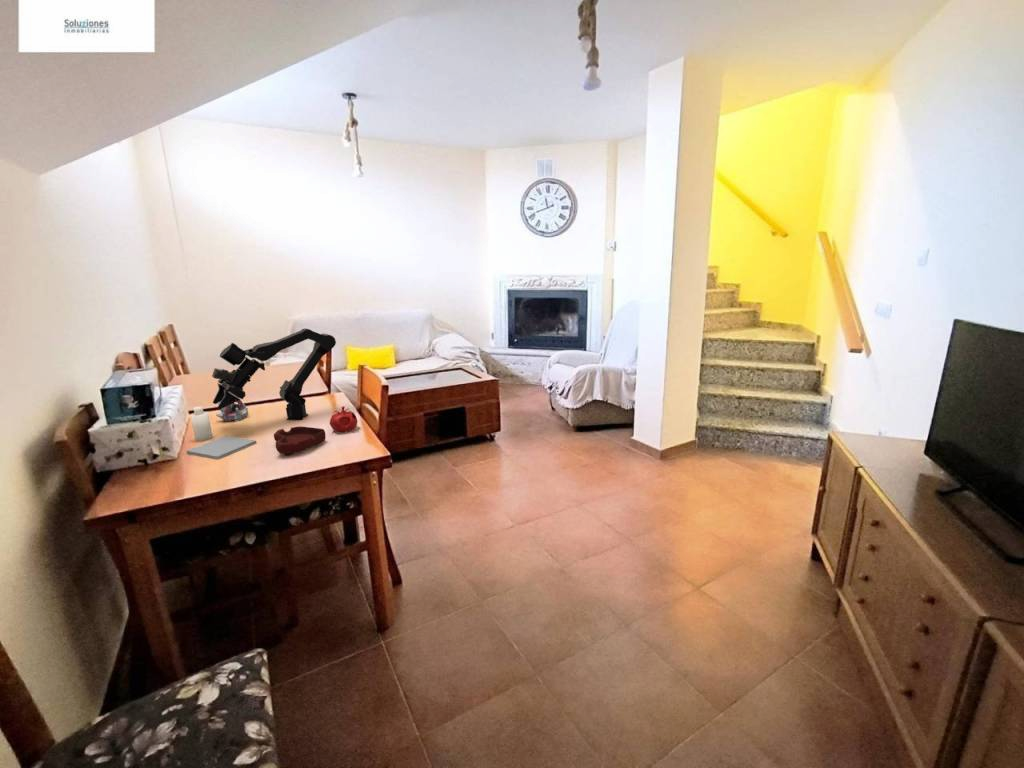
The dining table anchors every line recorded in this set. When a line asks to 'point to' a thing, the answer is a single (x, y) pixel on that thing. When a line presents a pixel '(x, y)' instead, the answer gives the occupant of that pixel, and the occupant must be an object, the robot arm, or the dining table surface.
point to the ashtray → (298, 439)
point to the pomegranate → (343, 421)
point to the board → (221, 447)
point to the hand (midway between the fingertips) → (216, 406)
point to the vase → (201, 424)
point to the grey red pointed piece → (233, 411)
